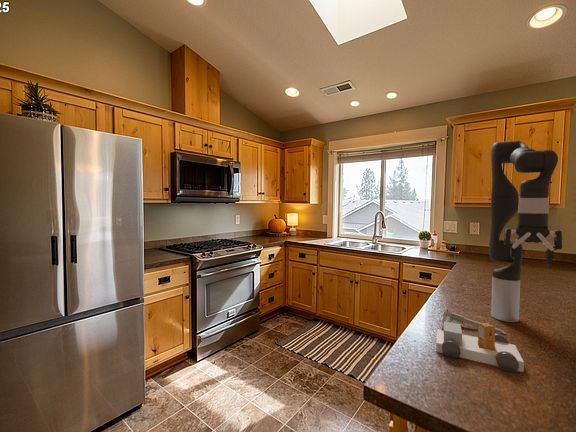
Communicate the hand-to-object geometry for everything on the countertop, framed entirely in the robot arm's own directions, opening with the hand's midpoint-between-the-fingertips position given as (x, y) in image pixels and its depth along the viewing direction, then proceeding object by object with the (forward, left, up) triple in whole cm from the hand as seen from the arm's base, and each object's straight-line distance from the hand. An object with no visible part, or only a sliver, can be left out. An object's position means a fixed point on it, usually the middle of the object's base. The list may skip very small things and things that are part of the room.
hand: (530, 260), depth 90 cm
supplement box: (+13, -13, -30) cm, 35 cm away
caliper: (-8, -15, -30) cm, 35 cm away
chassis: (+13, -16, -30) cm, 36 cm away
